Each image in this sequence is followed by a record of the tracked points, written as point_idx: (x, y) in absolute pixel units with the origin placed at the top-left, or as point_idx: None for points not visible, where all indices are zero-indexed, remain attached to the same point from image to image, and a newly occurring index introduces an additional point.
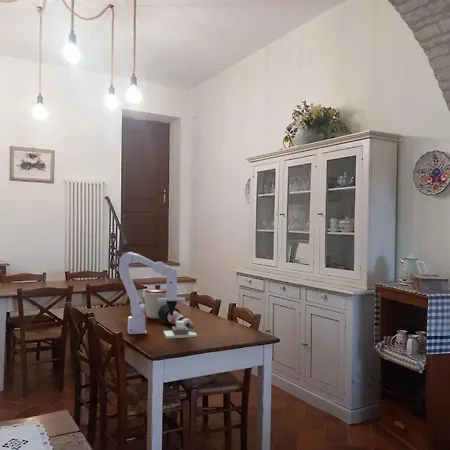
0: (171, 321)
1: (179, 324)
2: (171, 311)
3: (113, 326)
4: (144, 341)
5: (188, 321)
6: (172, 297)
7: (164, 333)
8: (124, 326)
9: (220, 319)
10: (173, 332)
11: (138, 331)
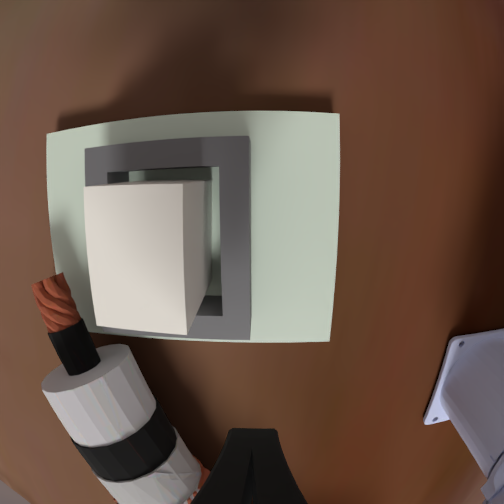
0: None
1: (159, 183)
2: (258, 477)
3: None
4: (495, 91)
5: (64, 383)
6: None
7: (333, 274)
8: (463, 477)
9: (11, 479)
10: (250, 211)
11: (499, 341)
